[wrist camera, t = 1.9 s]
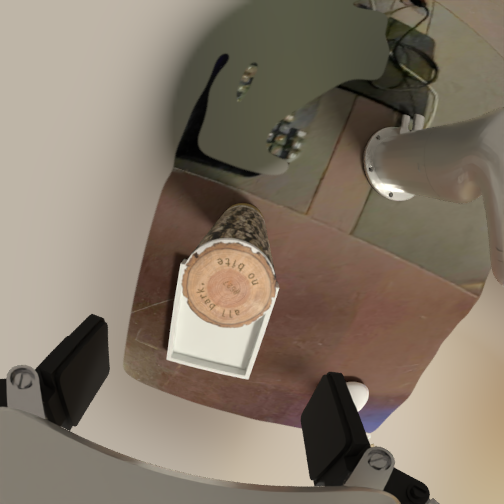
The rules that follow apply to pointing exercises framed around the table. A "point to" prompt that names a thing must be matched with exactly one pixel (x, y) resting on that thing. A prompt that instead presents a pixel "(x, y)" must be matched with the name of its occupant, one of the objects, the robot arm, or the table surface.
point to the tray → (213, 340)
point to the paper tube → (231, 270)
